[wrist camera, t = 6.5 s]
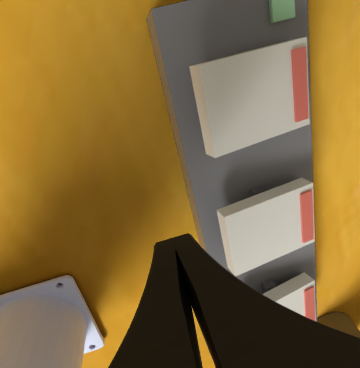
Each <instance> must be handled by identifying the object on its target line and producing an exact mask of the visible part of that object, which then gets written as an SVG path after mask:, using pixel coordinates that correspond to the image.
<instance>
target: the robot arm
mask: <svg viewBox="0 0 360 368" xmlns="http://www.w3.org/2000/svg"><path fill="white" fill-rule="evenodd" d="M58 283H62V284H63V285H59V284H58ZM191 306H192V307H191ZM192 308H193V311H194V313H195V316H196V318H197V321H198V323H199V326H200V328H201V331H202V333H203V336H204V339H205V341H206V344H207V346H208V349H209V351H210V354H211V356H212V359H213V361H214V364H215V367H216V368H360V338H358V337H355V336H353V335H350V334H347V333H344V332H342V331H339V330H336V329H333V328H330V327H328V326H325V325H323V324H321V323H318V322H316V321H314V320H311V319H309V318H307V317H305V316H303V315H301V314H299V313H297V312H295V311H293V310H291V309H289V308H287V307H285V306H283V305H281V304H279V303H277V302H275V301H273V300H271V299H270V298H268V297H266V296H264V295H263V294H261V293H259V292H258V291H256V290H255V289H253V288H251V287H250V286H248V285H247V284H245V283H244V282H242V281H241V280H240V279H238V278H237V277H236V276H234V275H233V274H232V273H230V272H229V271H228V270H226V269H225V268H224V267H223V266H221V265H220V264H219V263H218V262H217V261H216V260H215V259H213V258H212V257H211V256H210V255H209V254H208V253H207V252H206V251H205V250H204V249H203V248H202V247H201V246H200V245H199V244H198V243H197V242H196V241H195V239H194V238H193V237H192V235H190V234H188V233H187V234H184V235H180V236H177V237H174V238H170V239H167V240H164V241H160V242H157V243H156V244H155V246H154V253H153V259H152V264H151V268H150V272H149V275H148V279H147V283H146V286H145V289H144V292H143V295H142V297H141V300H140V303H139V306H138V308H137V311H136V313H135V316H134V318H133V320H132V323H131V325H130V327H129V329H128V331H127V333H126V336H125V337H124V339H123V341H122V343H121V345H120V347H119V349H118V351H117V353H116V355H115V357H114V358H113V360H112V362H111V364H110V366H109V367H108V368H203V367H202V362H201V356H200V351H199V345H198V340H197V334H196V329H195V323H194V318H193V312H192ZM103 346H104V338H103V336H102V334H101V332H100V330H99V328H98V326H97V324H96V322H95V320H94V318H93V316H92V314H91V312H90V310H89V308H88V306H87V304H86V302H85V300H84V298H83V296H82V294H81V292H80V290H79V288H78V286H77V284H76V282H75V280H74V278H73V277H72V276H69V275H65V276H61V277H58V278H55V279H52V280H48V281H45V282H42V283H38V284H35V285H32V286H28V287H25V288H22V289H18V290H15V291H12V292H8V293H5V294H2V295H0V368H82V361H83V354H84V353H87V352H91V351H94V350H97V349H100V348H102V347H103Z"/></svg>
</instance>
